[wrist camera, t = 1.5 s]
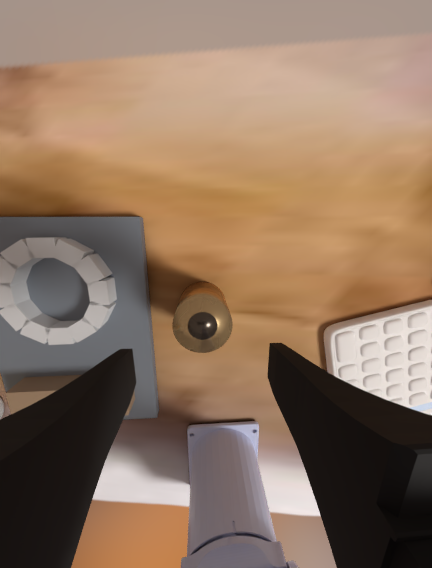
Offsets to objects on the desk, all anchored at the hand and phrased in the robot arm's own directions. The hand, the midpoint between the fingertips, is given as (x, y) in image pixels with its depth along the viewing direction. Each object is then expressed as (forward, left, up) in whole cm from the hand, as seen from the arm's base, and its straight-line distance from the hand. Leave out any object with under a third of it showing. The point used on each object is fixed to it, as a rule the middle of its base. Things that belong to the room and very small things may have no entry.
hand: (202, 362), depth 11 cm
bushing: (0, 0, -10) cm, 10 cm away
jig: (-2, +12, -10) cm, 15 cm away
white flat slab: (-11, -21, -10) cm, 26 cm away
